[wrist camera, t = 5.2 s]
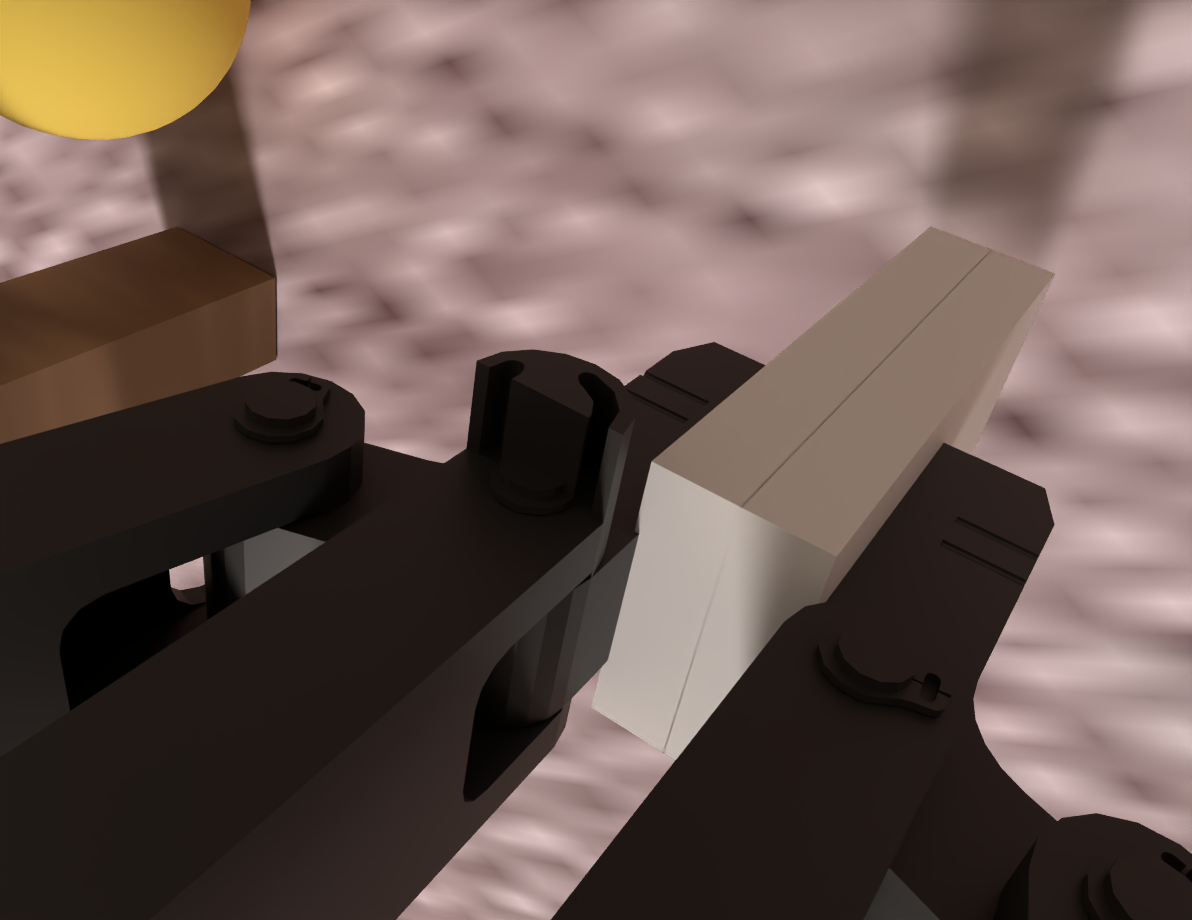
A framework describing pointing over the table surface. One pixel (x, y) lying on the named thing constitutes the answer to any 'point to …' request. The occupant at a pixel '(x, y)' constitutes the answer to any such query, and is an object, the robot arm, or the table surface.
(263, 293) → the bridge
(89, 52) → the ball
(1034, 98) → the table surface
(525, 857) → the table surface
